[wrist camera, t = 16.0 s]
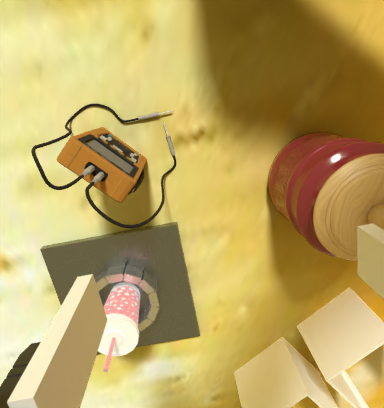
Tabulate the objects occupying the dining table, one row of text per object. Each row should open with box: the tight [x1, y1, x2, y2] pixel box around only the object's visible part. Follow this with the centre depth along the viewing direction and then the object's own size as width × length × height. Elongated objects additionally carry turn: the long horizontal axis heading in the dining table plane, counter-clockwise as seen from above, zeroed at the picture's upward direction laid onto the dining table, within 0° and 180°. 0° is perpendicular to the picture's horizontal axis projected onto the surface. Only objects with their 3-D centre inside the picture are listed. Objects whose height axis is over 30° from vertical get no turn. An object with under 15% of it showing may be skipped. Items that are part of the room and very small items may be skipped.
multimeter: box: [31, 104, 176, 228], centre depth 31 cm, size 15×10×20 cm
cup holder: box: [40, 222, 200, 354], centre depth 47 cm, size 20×20×4 cm
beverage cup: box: [98, 282, 140, 372], centre depth 41 cm, size 6×6×14 cm
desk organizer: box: [234, 287, 384, 408], centre depth 49 cm, size 25×11×11 cm, turn 133°
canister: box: [268, 132, 384, 261], centre depth 36 cm, size 13×13×18 cm
